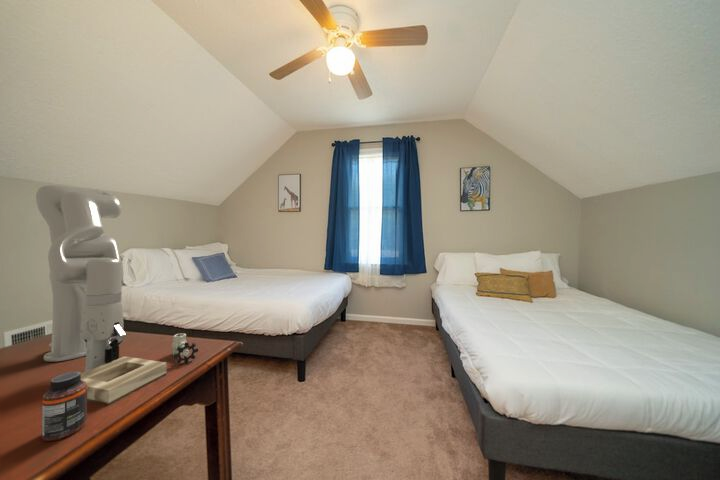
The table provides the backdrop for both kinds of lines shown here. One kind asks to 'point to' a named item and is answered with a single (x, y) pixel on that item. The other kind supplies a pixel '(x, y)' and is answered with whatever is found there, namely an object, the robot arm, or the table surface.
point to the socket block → (120, 378)
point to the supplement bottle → (64, 406)
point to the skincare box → (95, 353)
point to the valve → (182, 348)
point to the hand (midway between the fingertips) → (103, 359)
